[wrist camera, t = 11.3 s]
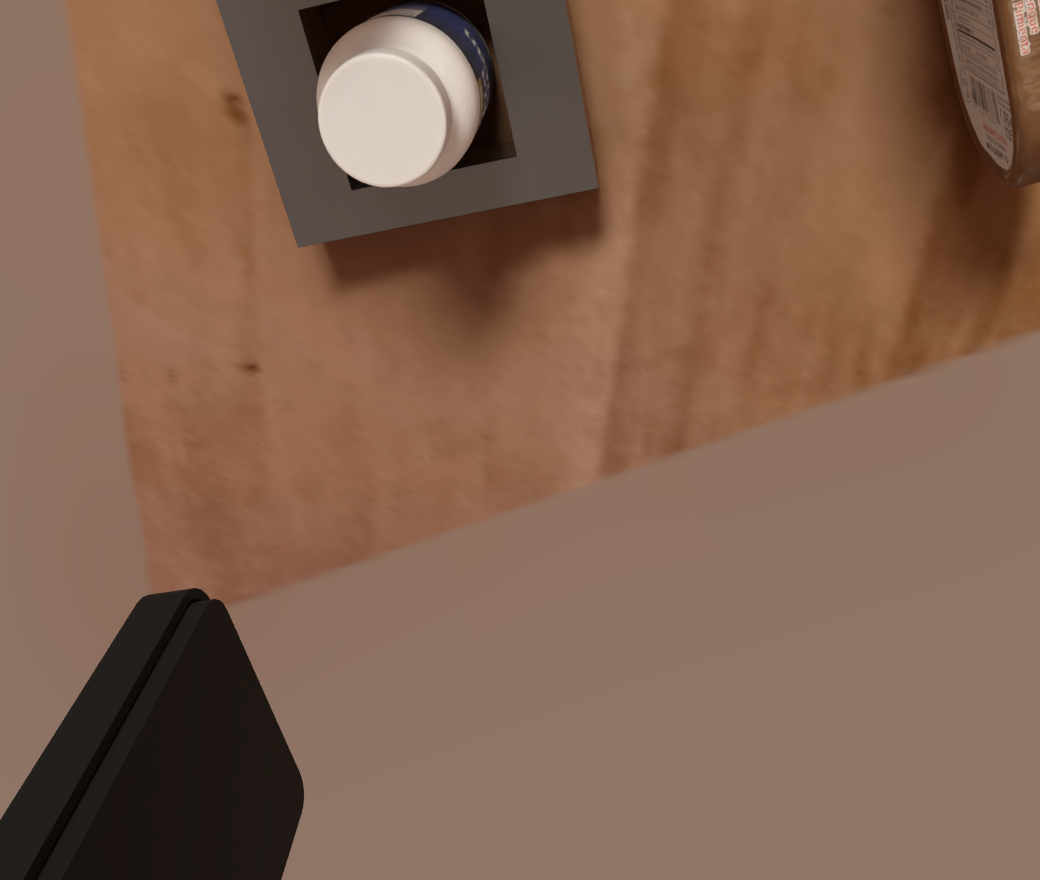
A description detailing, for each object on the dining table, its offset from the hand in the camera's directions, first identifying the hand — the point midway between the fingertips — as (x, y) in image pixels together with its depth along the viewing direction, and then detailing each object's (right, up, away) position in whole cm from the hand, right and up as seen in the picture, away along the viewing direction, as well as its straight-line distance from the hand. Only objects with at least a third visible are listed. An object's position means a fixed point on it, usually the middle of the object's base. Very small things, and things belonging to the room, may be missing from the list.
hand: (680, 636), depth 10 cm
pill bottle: (-5, +16, +29) cm, 33 cm away
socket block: (-5, +16, +28) cm, 33 cm away
